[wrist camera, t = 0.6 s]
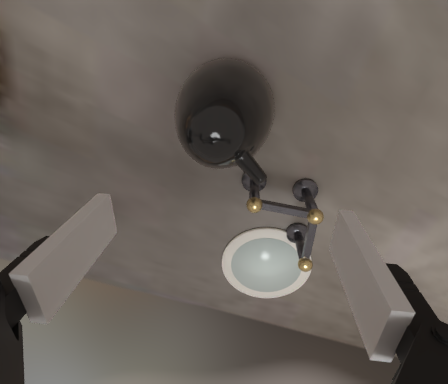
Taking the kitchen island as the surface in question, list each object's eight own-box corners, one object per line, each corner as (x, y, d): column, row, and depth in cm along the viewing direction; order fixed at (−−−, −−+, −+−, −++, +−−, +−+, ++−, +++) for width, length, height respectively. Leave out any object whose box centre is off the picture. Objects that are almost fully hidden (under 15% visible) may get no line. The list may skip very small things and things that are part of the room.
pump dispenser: (231, 161, 36) (219, 227, 23) (170, 105, 34) (116, 142, 20) (291, 104, 32) (318, 143, 19) (227, 35, 30) (206, 23, 16)
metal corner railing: (231, 228, 41) (227, 264, 34) (244, 166, 37) (243, 193, 30) (304, 242, 41) (314, 281, 34) (327, 182, 36) (345, 213, 30)
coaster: (215, 286, 47) (215, 289, 46) (230, 219, 41) (230, 221, 40) (296, 302, 47) (296, 305, 46) (323, 237, 40) (324, 240, 40)
